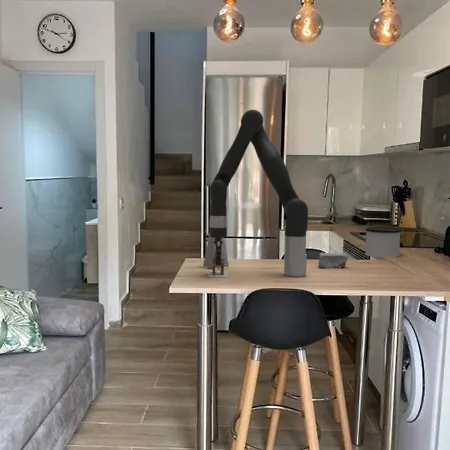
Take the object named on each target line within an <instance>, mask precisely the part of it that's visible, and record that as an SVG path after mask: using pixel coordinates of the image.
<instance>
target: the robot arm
mask: <svg viewBox="0 0 450 450" xmlns="http://www.w3.org/2000/svg"><path fill="white" fill-rule="evenodd" d="M263 124H264V116H263V115H262V113H261V112H260V111H259V110H257V109H249V110H247V111H245V112H244V113H243V115H242V116H241V118H240V125H239V128H238V132H237V134H236V136H235V139H234V141H233V143H232V144H231V145H230V147H229V149H228V150H227V153H226V154H225V156H224V158H223V160H222V162H221V164H220V166H219V169H218V171H217V172H216V173H217V174H216V175H215V177H214V178H213V180H212V182H211V184H210V187H209V189H210V209H209V212H210V215H209V236H210V237H212V238H215V241H214V251H215V257H216V265H221V256H222V253H221V252H222V246H223V241H221V238H227V237H228V218H227V217H228V216H227V211H228V210H227V209H228V208H227V198H228V197H227V196H228V188H229V185H230V184H231V180H232V178H233V177H234V176H235V175H236V172H237V171H238V168H239V166H240V164H241V162H242V160H243V159H244V155H245V154H246V151H247V148H248V147H249V145H250V143H251V144H252V146H253V148H254V151H255V153H256V156H257V158H258V161H259V163H260V165H261V167H262V169H263V171H264V173H265V176H266V177H267V179H268V181H269V183H270V184H271V185H272V186H271V187H272V188H273V189H274V190H275V192H276V194H277V196H278V198H279V201H280V203H281V206H282V210H283V211H284V214H285V216H286V218H285V229H284V249H283V252H284V254H283V258H284V259H283V274H284V276H286V277H306V276H307V267H308V265H307V263H308V260H307V257H308V255H307V252H306V250H307V249H306V248H307V232H308V224H309V223H308V221H309V208H308V207H309V206H308V205H307V203H306V202H305V201H304V200H303V199H301V198H300V197H299V196H298V194H297V192H296V190H295V189H294V186H293V185H292V181H291V176H290V174H289V170H288V169H287V165H286V164H285V162H284V159H283V157H282V156H281V154H280V152H279V151H278V149H277V148H276V147H275V145H274V144H273V143H272V141H271V140H270V138H269V137H268V134H267V132H266V130H265V127H264V125H263Z"/></svg>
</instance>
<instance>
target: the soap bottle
mask: <svg viewBox="0 0 450 450" xmlns="http://www.w3.org/2000/svg"><path fill="white" fill-rule="evenodd" d="M214 241H215V238H212V237H210V235H209V236H208V240H207V244H206V250H205V254H204V259H203V263H202V267H203V266H204V267H207V268H212V257H215V251H214ZM221 241H223V246H222V252H221V253H222V256H221V257H224V267H228V266H230V265H229V260H228V253H227V250H226V249H227V248H226V243H225V239H224V238H221ZM204 267H203V268H204ZM207 268H206V269H207ZM215 268H221V266H215ZM228 268H229V267H228Z"/></svg>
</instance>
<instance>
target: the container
mask: <svg viewBox="0 0 450 450" xmlns="http://www.w3.org/2000/svg"><path fill="white" fill-rule="evenodd" d="M365 231H366V233H365V253H364V255H366V256H369V257H375V258H393V257H392V256H398V255H400V251H401V250H400V249H401V248H400V247H401V245H400V243H401V233H402V229H400V228H397V227H389V226H388V227H386V226H385V227H384V226H372V227H371V226H370V227H366V228H365Z"/></svg>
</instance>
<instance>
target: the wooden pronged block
mask: <svg viewBox="0 0 450 450" xmlns="http://www.w3.org/2000/svg"><path fill="white" fill-rule="evenodd" d="M215 266H221V269H220V272H221V275H224V272H225V269H224V257H221V265H216V257H212V269H211V272H212V274H213V275H215V272H216V269H215Z"/></svg>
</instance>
